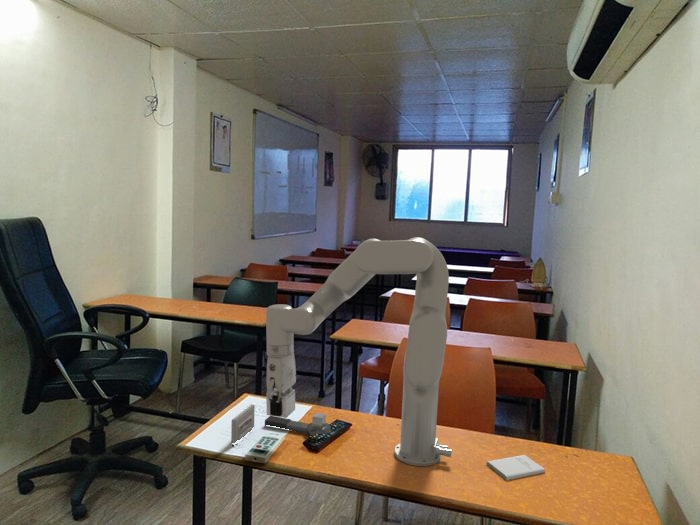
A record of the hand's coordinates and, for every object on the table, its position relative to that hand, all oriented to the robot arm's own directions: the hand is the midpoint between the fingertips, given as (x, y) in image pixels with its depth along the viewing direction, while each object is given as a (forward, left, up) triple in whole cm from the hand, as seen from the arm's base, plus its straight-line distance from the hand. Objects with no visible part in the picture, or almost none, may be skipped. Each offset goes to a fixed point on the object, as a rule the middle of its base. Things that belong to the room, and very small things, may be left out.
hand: (281, 410), depth 140 cm
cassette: (+11, +2, -10) cm, 15 cm away
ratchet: (-2, -9, -9) cm, 13 cm away
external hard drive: (-64, -10, -10) cm, 66 cm away
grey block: (0, 0, -1) cm, 1 cm away
